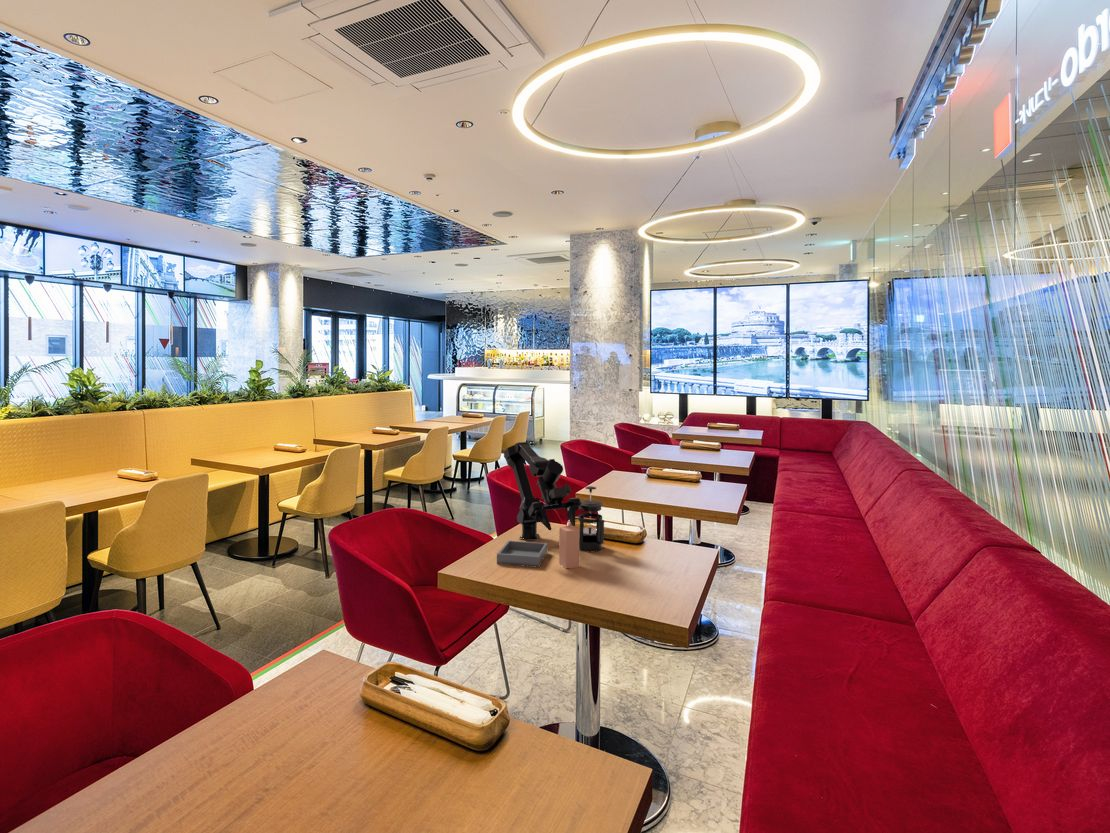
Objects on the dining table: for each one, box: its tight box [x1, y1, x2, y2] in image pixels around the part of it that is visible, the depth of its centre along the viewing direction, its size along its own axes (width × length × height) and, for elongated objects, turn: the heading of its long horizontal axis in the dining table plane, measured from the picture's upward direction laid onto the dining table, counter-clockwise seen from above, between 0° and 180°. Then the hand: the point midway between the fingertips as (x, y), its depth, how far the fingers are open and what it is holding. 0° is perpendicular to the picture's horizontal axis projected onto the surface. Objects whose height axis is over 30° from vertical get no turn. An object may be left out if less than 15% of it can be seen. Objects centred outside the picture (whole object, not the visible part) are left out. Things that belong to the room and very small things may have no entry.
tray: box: [496, 540, 548, 568], centre depth 198 cm, size 15×15×4 cm
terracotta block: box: [558, 525, 580, 569], centre depth 191 cm, size 5×5×13 cm
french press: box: [577, 485, 605, 553], centre depth 208 cm, size 12×9×23 cm
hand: (562, 528), depth 195 cm, fingers open, 9 cm apart
